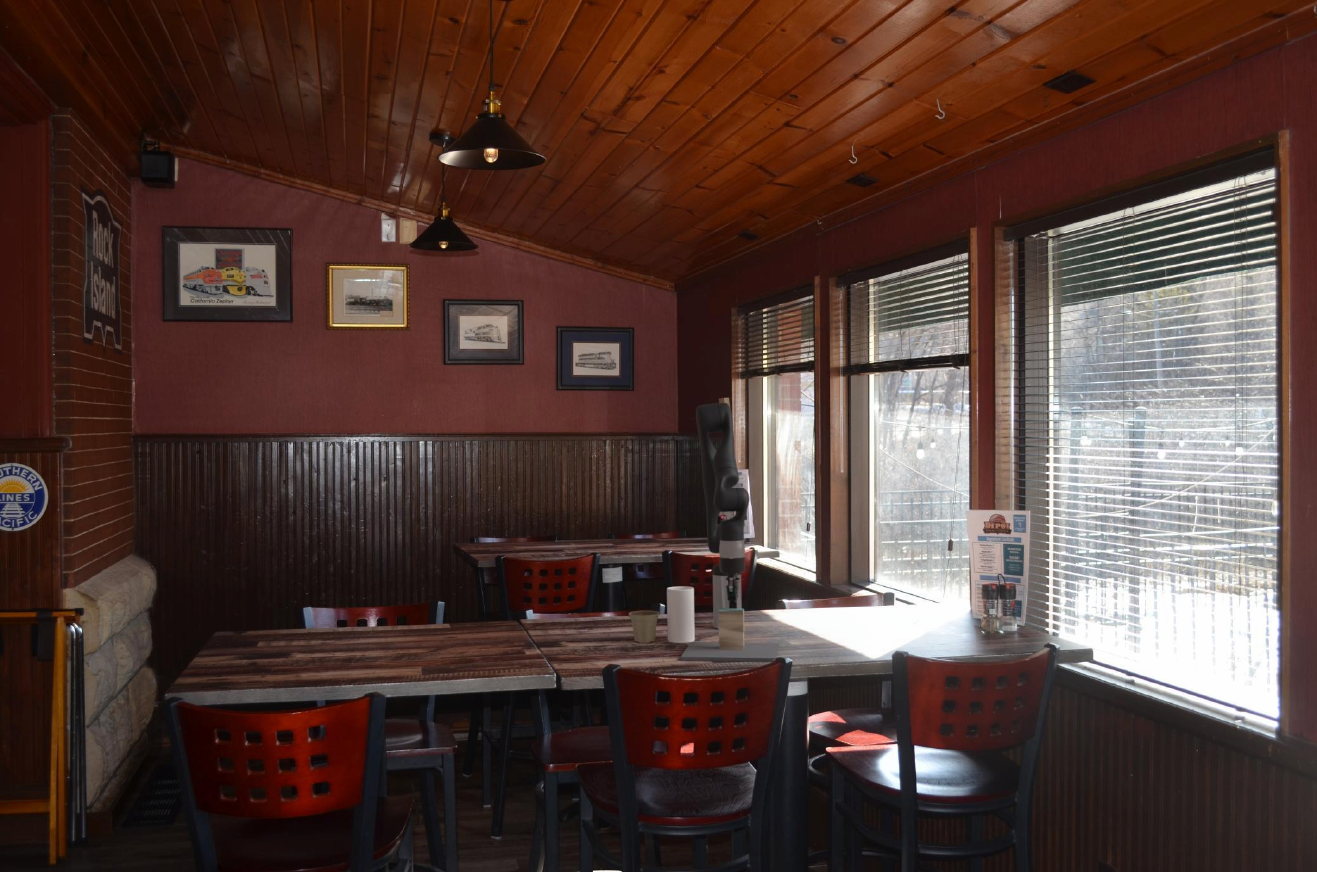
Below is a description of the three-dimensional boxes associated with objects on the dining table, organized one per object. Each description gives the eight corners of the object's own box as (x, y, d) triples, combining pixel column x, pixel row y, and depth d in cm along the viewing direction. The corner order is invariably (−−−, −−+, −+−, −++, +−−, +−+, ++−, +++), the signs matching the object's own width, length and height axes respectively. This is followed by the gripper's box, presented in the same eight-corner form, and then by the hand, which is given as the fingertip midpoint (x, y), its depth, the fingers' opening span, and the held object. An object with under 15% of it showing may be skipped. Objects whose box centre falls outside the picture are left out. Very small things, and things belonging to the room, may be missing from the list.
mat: (690, 645, 319) (690, 642, 319) (778, 646, 315) (778, 643, 315) (680, 660, 298) (680, 656, 298) (774, 661, 293) (774, 658, 293)
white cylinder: (670, 643, 323) (669, 590, 323) (665, 638, 331) (664, 586, 331) (697, 642, 325) (696, 589, 325) (691, 637, 333) (690, 585, 333)
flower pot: (635, 645, 321) (635, 616, 321) (624, 640, 330) (624, 612, 330) (664, 642, 325) (664, 614, 325) (653, 637, 334) (652, 609, 334)
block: (720, 646, 312) (719, 608, 312) (744, 646, 311) (744, 608, 311) (719, 648, 308) (718, 610, 308) (743, 649, 307) (742, 610, 307)
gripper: (721, 553, 323) (722, 611, 322) (717, 557, 310) (718, 618, 309) (746, 553, 321) (747, 611, 321) (743, 557, 308) (744, 618, 308)
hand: (733, 614), depth 315 cm, fingers closed
